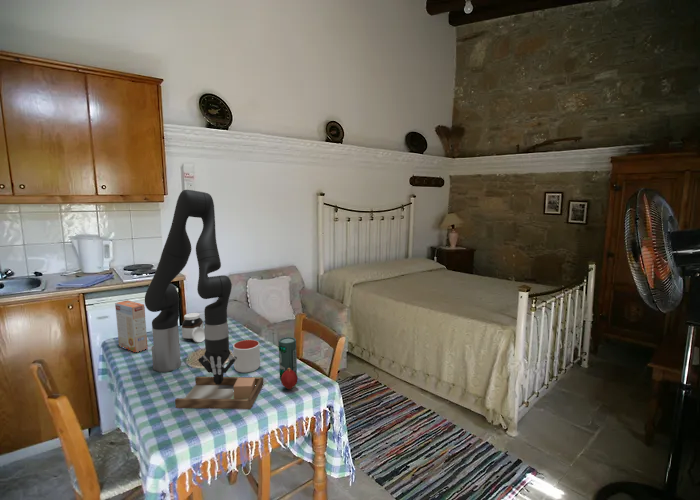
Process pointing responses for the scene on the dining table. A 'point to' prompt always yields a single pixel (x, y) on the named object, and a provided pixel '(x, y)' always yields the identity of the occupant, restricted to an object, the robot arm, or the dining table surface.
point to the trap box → (217, 394)
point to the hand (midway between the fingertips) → (218, 383)
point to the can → (287, 355)
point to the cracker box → (131, 325)
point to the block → (243, 388)
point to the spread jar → (193, 328)
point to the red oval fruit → (289, 379)
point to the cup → (246, 356)
